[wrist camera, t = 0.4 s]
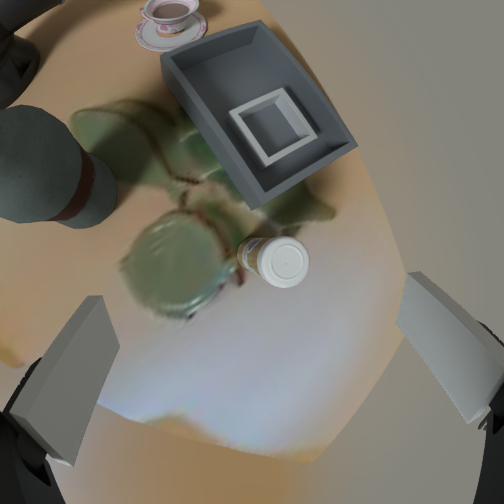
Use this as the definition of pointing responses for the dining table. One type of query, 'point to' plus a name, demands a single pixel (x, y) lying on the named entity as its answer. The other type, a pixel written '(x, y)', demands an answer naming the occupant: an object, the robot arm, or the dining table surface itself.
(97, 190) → the vodka
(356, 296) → the dining table surface
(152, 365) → the dining table surface
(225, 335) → the dining table surface
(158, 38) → the teacup
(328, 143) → the walled box
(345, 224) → the dining table surface
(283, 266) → the sprinkles bottle
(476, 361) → the robot arm
